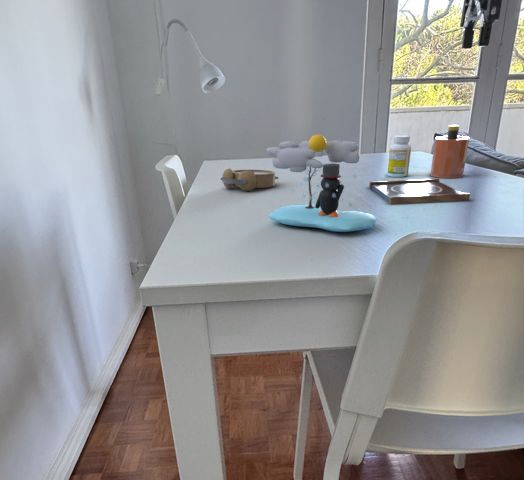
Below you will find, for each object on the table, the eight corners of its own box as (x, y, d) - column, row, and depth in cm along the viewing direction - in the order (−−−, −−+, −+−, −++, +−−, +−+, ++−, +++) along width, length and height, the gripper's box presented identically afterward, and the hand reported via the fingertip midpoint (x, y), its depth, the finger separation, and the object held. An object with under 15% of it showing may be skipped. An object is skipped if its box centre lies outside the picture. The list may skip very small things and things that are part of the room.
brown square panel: (437, 184, 113) (438, 178, 112) (469, 200, 98) (470, 193, 97) (369, 187, 112) (369, 181, 112) (390, 204, 97) (390, 197, 96)
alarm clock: (285, 172, 118) (244, 169, 107) (283, 192, 120) (243, 192, 109) (252, 168, 124) (210, 165, 114) (250, 188, 126) (209, 187, 115)
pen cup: (455, 172, 126) (461, 135, 122) (468, 177, 119) (474, 138, 115) (425, 173, 126) (430, 136, 122) (437, 178, 119) (442, 140, 115)
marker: (449, 171, 123) (456, 124, 118) (453, 172, 121) (461, 125, 116) (440, 171, 123) (447, 125, 118) (444, 173, 121) (451, 126, 116)
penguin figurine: (384, 226, 83) (393, 132, 75) (354, 241, 76) (360, 139, 68) (293, 212, 94) (292, 128, 87) (259, 224, 87) (255, 134, 80)
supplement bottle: (398, 178, 122) (402, 137, 117) (382, 175, 126) (386, 136, 121) (412, 175, 124) (417, 135, 119) (397, 172, 128) (401, 134, 123)
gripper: (523, -51, 95) (505, 45, 103) (490, -36, 107) (476, 49, 115) (487, -50, 94) (472, 46, 103) (457, -35, 107) (446, 50, 115)
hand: (474, 47), depth 109 cm, fingers open, 8 cm apart
